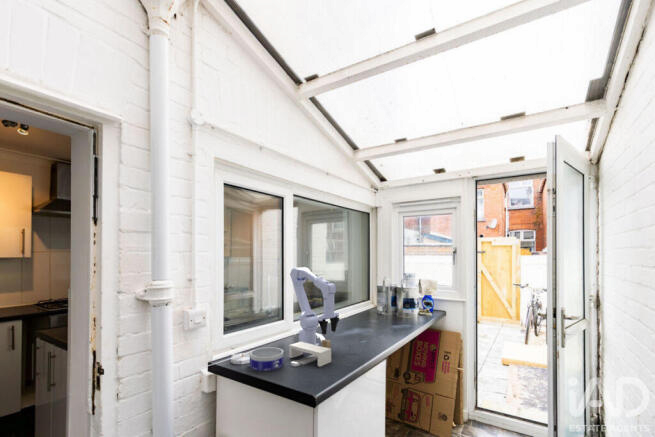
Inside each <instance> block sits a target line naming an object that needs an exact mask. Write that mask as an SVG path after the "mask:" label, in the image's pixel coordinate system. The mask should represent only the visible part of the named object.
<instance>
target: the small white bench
mask: <svg viewBox="0 0 655 437" xmlns="http://www.w3.org/2000/svg"><path fill="white" fill-rule="evenodd" d="M288 347H289V348H288V349H289V350H288V351H289V352H288V353H289V354H288V358H290V359H292V358H296V357H299V356H301V355H303V353H306V354H310V355H317V356H318V359H317V367H323V366H324V365H328V364H330V363H331V362H332V348H331V349H330V348H325V347H322V345H321V346H320V345H313V344H309V343H305V342H299V341H298V342H295V343H291V344H289V346H288Z"/></svg>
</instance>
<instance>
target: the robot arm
mask: <svg viewBox="0 0 655 437" xmlns="http://www.w3.org/2000/svg"><path fill="white" fill-rule="evenodd" d="M289 275H290V279H291V282H292V285H293V287H292V288H294V289H293V290H294V293H295V296H296V299H297V301H298V305H299V308H300V310H301V314H300V315H299V325H300V329H299V332H298V342H305V343H309V344H313V345H317V346H320V343H317V335H316V333H317V329H318V327H319V326H320V329H321V335H327V331H328V329H327V328H328V323H329V322H330V329H331V332H333V333H335V332H336V331H337V326H338V324H339V321H340V314H339V312H335V294H336V293H337V288H338V287H337V285H336V284H335V283H334V282H329V280H327V279H325V278H324V277H323V276H317V275H315V274H314V273H313V272H312V271H311V270H310V268H308V267H306V266H305V267H292V268H291V270H290V273H289ZM307 279H308V280H309V281H311V282H313V284H314V286H315V287H316V288H317V289H319V290H321V294H322V298H323V314H322V315H319V316H317V314H316V312H315V311H313V310H312V309H311V306H310V302H309V299H308V297H307V293H306V291H305V288H304V284H305V282H306V281H307ZM328 320H329V321H328Z"/></svg>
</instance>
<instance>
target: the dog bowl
mask: <svg viewBox="0 0 655 437" xmlns="http://www.w3.org/2000/svg"><path fill="white" fill-rule="evenodd" d="M283 365H284V349H282V348H279V347H274V346H273V347H272V346H269V347H265V346H264V347H260V348H259V347H258V348H256V349H252V350H251V351H250V352H249V368H250V369H252V370H254V371H258V372H269V371H274V370H278V369H280V368H282V366H283Z"/></svg>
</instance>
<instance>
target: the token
mask: <svg viewBox="0 0 655 437" xmlns="http://www.w3.org/2000/svg"><path fill="white" fill-rule="evenodd" d="M290 366H291V367H295V368H297V367H300V366H301V362H300V361H297V360H292V361H290Z"/></svg>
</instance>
